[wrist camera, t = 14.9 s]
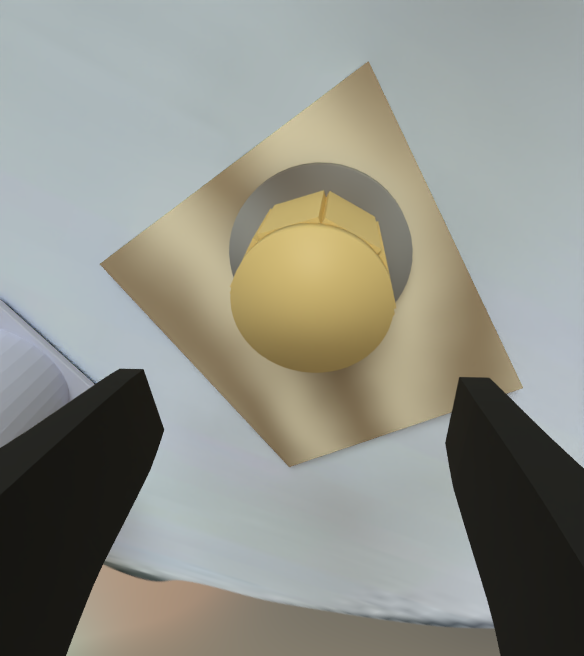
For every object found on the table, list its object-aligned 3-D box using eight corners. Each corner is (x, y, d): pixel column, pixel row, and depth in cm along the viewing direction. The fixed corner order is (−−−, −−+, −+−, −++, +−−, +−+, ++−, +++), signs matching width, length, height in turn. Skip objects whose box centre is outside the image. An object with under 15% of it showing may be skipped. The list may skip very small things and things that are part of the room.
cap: (411, 237, 15) (430, 282, 12) (340, 335, 18) (338, 394, 15) (289, 167, 14) (272, 195, 11) (234, 282, 17) (207, 331, 14)
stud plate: (290, 456, 25) (283, 504, 22) (108, 257, 19) (66, 289, 16) (517, 377, 20) (545, 427, 17) (367, 61, 13) (372, 57, 11)
